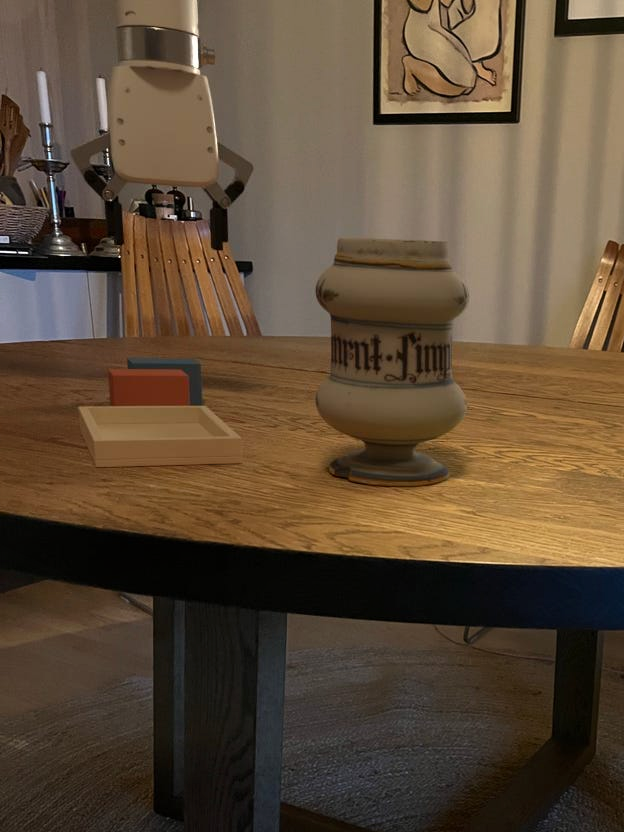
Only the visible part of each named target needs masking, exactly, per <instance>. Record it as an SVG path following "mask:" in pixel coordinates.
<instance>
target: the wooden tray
mask: <svg viewBox="0 0 624 832" xmlns="http://www.w3.org/2000/svg"><path fill="white" fill-rule="evenodd" d="M77 410H78V423H79V431H80V434H81V435H82V437H83V438H82V439H83V441H84V442H85V445H86V448H87V450H88V452H89V454H90V457H91V459H92V462H93V465H94V466H95V468H122V467H123V468H125V467H126V468H127V467H158V466H159V467H161V466H198V465H200V466H201V465H233V464H236V465H237V464H243V438H242V437H241V436H240V435H239V434H237V433H236V432H235V431H234V430H233V429H232V428H231V427H229V425H227V423H225V422H224V421H223V420H222V419H221V418H220V417H218V415H216V414H215V413H214V412H213V411H212V410H211V409H210V408H209V407H208V406H206V405H202V406H111V405H102V406H101V405H100V406H97V405H96V406H95V405H94V406H93V405H92V406H89V405H88V406H83V405H82V406H81V405H80V406H78V407H77Z"/></svg>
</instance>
